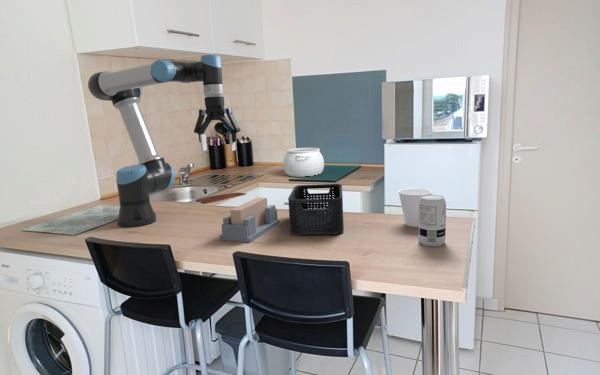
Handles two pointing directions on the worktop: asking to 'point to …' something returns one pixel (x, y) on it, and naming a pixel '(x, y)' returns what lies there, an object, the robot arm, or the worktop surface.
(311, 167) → the pot
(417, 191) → the cup
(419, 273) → the worktop surface
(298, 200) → the storage bin
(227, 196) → the wooden tablet
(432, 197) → the supplement can
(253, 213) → the tan rectangular block
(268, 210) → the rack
